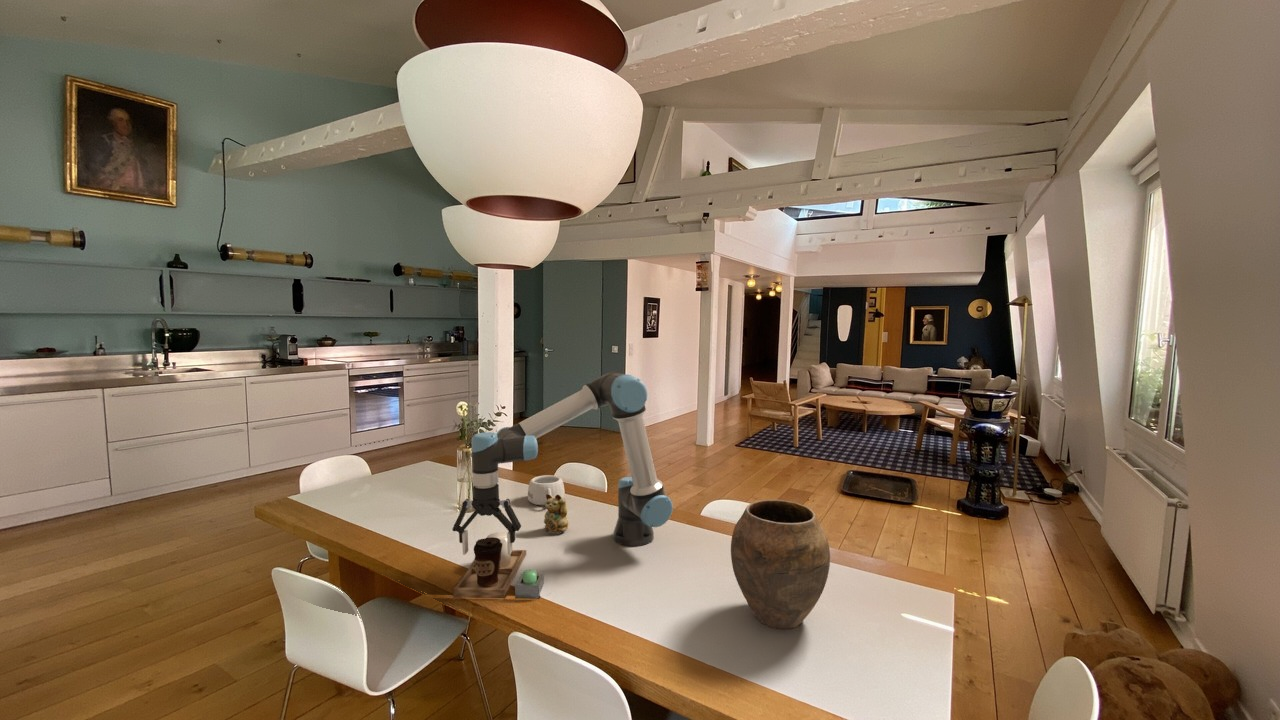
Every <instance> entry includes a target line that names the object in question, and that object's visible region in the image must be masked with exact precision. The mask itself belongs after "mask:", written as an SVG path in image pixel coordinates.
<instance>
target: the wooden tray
mask: <svg viewBox="0 0 1280 720" xmlns="http://www.w3.org/2000/svg"><path fill="white" fill-rule="evenodd" d="M526 556H527V550H526V549H512V552H511V563H510V564H509V565H508V566H506V567H504V568H503V567H500V568H499V571H498V579H499V582H498V583H497V584H496V585H493V586H487V587H483V586H479V585H478V584H477V574H476V571H475V560H473V562H472V563H471V565H470V566H469V567H468V569H467V570H466V572H465V573H464V574H463V576H462V577H461V579H460V580H459V581H458V583H457V584H456V585H455V587H454V588H453V598H457V599H458V598H459V599H460V598H461V599H463V598H466V599H469V598H470V599H506V597H507V595H506V594H507V593H508V591H509V588H510V587H511V584H512V582H513V581H514V579H515V577H516V575H517V573H518V571H519V569H520V567H521V565H522V564H523V561H524V560H525V559H526Z"/></svg>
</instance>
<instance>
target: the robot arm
mask: <svg viewBox="0 0 1280 720" xmlns="http://www.w3.org/2000/svg"><path fill="white" fill-rule="evenodd" d="M647 400H648V390H647V387H646V385H645V383H644V382H643V381H642V380H641V379H640V378H638V377H636V376H634V375H632V374H625V373H621V372H620V373H619V372H614V371H613V372H609V373H606V374H603V375H601V376H599V377H597V378H595V379H593V380H592V381H589V382H588V383H586V384H584V385H583V386H582V389H581V390H579V391H577V392H575V393H573V394H571V395H569V396H567V397H565V398H563V399H561V400H560V401H558V402H555V403H553V405H550V406H549V407H546V408H545V409H543V410H540V411H539V412H537V413H535V414H534V415H531V416H530V417H529V416H528V418H526V419H523V420H522V421H520V422H518V423H516V424H514V425H512V426H504V427H502V428H500V429H499V430H498V431H497V432H496V433H495V432H491V431H488V432H487V431H486V432H479V433H475V434H473V435H472V437H471V449H470V452H471V473H472V475H471V476H472V477H471V478H472V480H471V481H472V485H473V486H472V500H470V499H469V498H466V499H464V500H463V501H462V504H461V510H460V511H459V514H458V515H457V518H456V520H455V522H454V525H453V527H452V531H453V532H458V540H459V543H460V544H462V556H465V555H467V553H469V534H468V533H469V531H468V529H467V527H469V525H470V524H471V523H472V521H474V519H475V518H476V517H477V516H478V515H479V516H481V517H483V516H489V517H490V516H493V517H494V518H497V519H496V520H498V521H499V522H500V523H501V524H502V525H503V527H504V528H505V529H506V530H507V532H506V533H507V549H508V555H510V554H511V552H512V550H513V544H514V543H515V541H516V532H519V530H520V529H521V528H522V524H521V522H520V521H519V519H518V517H517V514H516V513H515V511H514V509H513V508H512V506H511V500H510V498H506V499H504V500H501V499H500V490H499V489H500V487H499V484H498V483H499V465H500V464H508V463H516V462H527V461H531V460H535V459H536V458H537V457H538V453H539V446H538V445H539V444H538V440H537V439H538V438H540V437H542V436H544V435H546V434H548V433H550V432H551V431H553V430H555V429H557V428H558V427H560V426H562V425H565V424H566V423H569V422H570V421H572V420H573V419H576V418H577V417H579V416H582V415H583V414H585V413H587V412H588V411H590V410H598V409H601V408H602V407H606V406H609V408H610V412H611V416H612V419H614V420H616V421H617V422H618V427H619V430H620V431H619V432H620V436H621V439H622V443H623V448H624V451H625V452H624V453H625V457H626V460H627V464H628V468H629V473H630V476H625V477H621V478H620V479H619V481H618V487H617V490H618V493H617V498H618V503H617V505H618V506H617V507H618V509H617V510H618V513H617V514H618V517H617V519H616V520H617V521H616V523H615V526H614V529H613V540H614V541H615V542H616V543H618V544H620V545H622V546H631V547H637V546H638V547H640V546H644V545H647V544H650V543H652V542H653V541H654V540H655V539H654V536H655V535H654V529H653V528H658V527H659V528H660V527H661V526H663V525H665V524H666V523H667V522H668V521H669V520H670V517H671V516H672V514H673V510H674V506H673V502H672V500H671V499H670V497H669V496H667V495H666V493H665V487H664V485H663V482H662V481H661V480H660V479H658V477H657V473H656V469H655V465H654V460H653V455H652V452H651V447H650V441H649V439H648V433H647V429H646V428H647V427H646V426H645V420H644V416H643V415H644V414H645V413H646V409H647V408H646V402H647ZM471 506H472V508H473V509H474V511H473V512H472V513H471V515H470V516H469V517H468V518H467V519H466V521H465V522H464V523H463V524H462V522H463V520H464V517H465V516H466V514H467V512H468V509H469V508H470V507H471ZM500 506H502V508H503V509H504V512H505V513H506V515H507V516H508V517H507V516H506V515H505V514H504V513H503V511H502V510H501V509H500ZM461 524H462V525H461Z"/></svg>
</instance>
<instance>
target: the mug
mask: <svg viewBox="0 0 1280 720" xmlns="http://www.w3.org/2000/svg"><path fill="white" fill-rule="evenodd" d="M565 491H566V490H565V486H564V481H563V479H562V477H559V475H558V476H557V475H552V474H551V475H550V474H548V475H547V474H546V475H545V474H544V475H539V476H535V477H533V478H532V479H530V480H529V483H528V489H527V499H528V501H529V502H530V503H531V504H532V505H535V506H543V507H544V506H545V505H546V501H547V498H546V494H550V495H552V496H553V497H555V496H556V495H558V494H560V495H561V497H562V499H565V495H566V494H565ZM545 507H546V506H545Z"/></svg>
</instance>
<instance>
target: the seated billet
mask: <svg viewBox="0 0 1280 720" xmlns="http://www.w3.org/2000/svg"><path fill="white" fill-rule="evenodd" d="M507 533H508V532H505V531H504V532H503V531H498V532H493V533H490V534H488V535H487V536H486V538H491V537H494V538H498V539H500V542H501V543H502V550H501V563H500V567H503V568H504V567H506V566H508V565H509V564H510V563H511V554H510V555H508V549H507Z"/></svg>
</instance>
